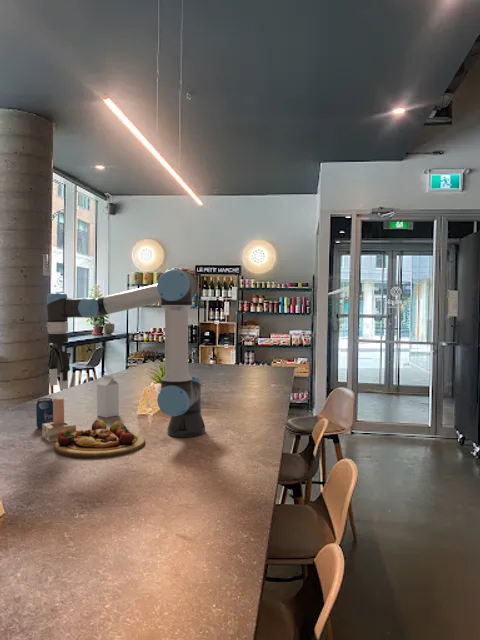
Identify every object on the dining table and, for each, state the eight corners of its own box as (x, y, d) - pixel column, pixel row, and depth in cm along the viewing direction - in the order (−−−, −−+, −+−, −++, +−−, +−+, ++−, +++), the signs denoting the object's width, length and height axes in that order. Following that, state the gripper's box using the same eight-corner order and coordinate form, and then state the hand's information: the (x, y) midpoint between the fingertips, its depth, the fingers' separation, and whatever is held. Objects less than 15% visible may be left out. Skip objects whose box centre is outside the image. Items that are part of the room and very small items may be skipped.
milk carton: (106, 418, 225) (106, 376, 225) (97, 416, 229) (96, 375, 229) (119, 415, 231) (118, 375, 230) (109, 413, 235) (109, 374, 235)
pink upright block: (65, 434, 192) (65, 399, 191) (55, 436, 189) (54, 400, 189) (62, 432, 195) (62, 397, 194) (52, 434, 192) (51, 398, 192)
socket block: (76, 437, 191) (75, 424, 191) (49, 441, 185) (49, 428, 185) (67, 432, 199) (67, 420, 199) (42, 436, 193) (42, 423, 193)
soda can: (48, 430, 203) (47, 401, 203) (33, 429, 205) (32, 400, 204) (57, 426, 210) (57, 398, 210) (42, 425, 211) (42, 397, 211)
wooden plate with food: (49, 463, 161) (49, 438, 160) (59, 437, 191) (59, 416, 191) (148, 457, 169) (148, 433, 169) (142, 433, 200) (142, 413, 199)
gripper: (39, 332, 199) (40, 384, 199) (57, 334, 179) (58, 392, 179) (57, 331, 203) (59, 382, 204) (78, 333, 183) (79, 390, 184)
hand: (58, 387), depth 192 cm, fingers open, 13 cm apart
